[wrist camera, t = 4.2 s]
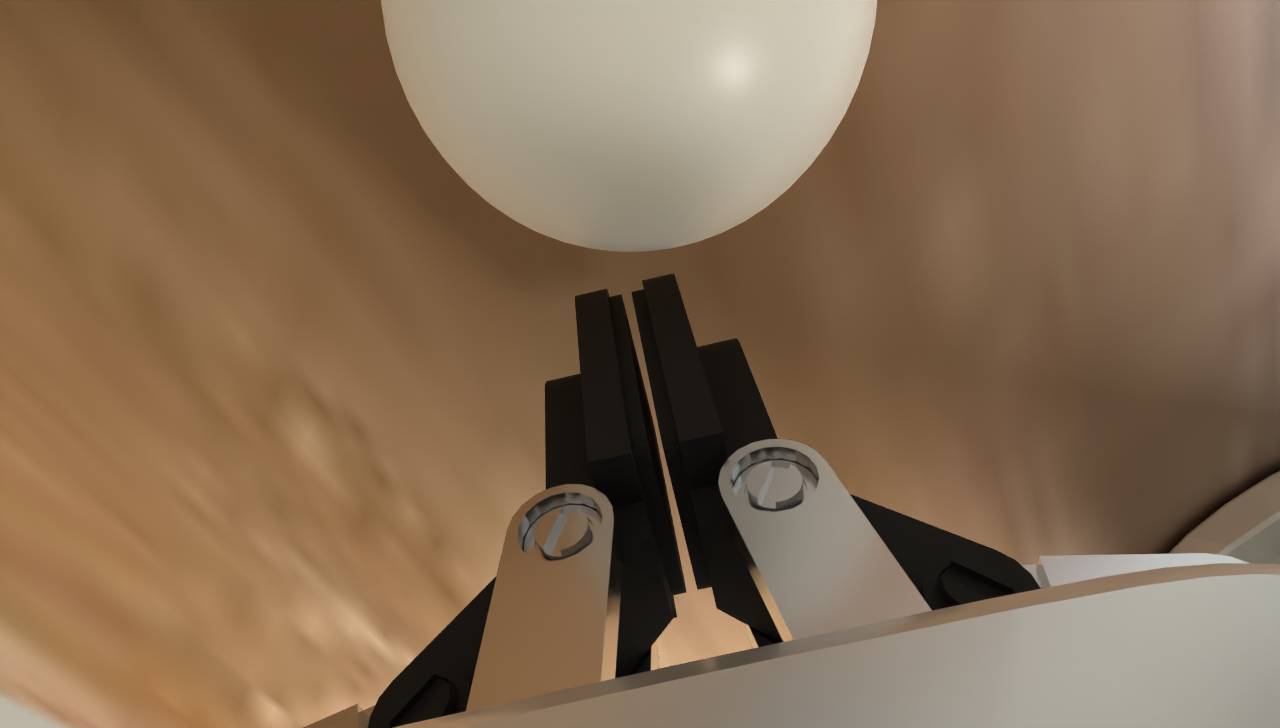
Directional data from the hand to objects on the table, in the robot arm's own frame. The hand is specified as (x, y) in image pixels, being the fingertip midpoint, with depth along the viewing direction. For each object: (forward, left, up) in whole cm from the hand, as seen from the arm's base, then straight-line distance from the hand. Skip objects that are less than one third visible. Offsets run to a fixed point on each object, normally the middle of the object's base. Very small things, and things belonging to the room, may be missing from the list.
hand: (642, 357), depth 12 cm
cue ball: (-1, -5, +1) cm, 6 cm away
